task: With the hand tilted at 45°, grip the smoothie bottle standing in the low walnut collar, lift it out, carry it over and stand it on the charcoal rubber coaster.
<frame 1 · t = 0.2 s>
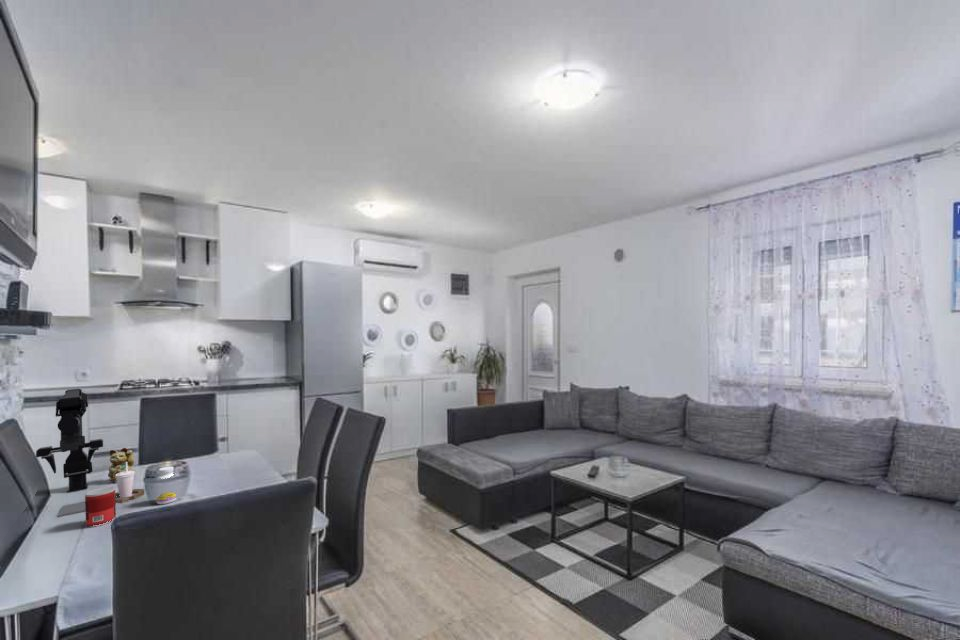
hand: (71, 470, 169), 14 cm above the table, tool pointing down, fingers open, 9 cm apart
smoothie: (125, 497, 177), resting in collar
coaster: (82, 507, 168), on the table
decorative figurine: (122, 480, 199), on the table
collar: (125, 496, 177), on the table
canned food: (101, 522, 153), on the table
supplement bottle: (167, 501, 170), on the table
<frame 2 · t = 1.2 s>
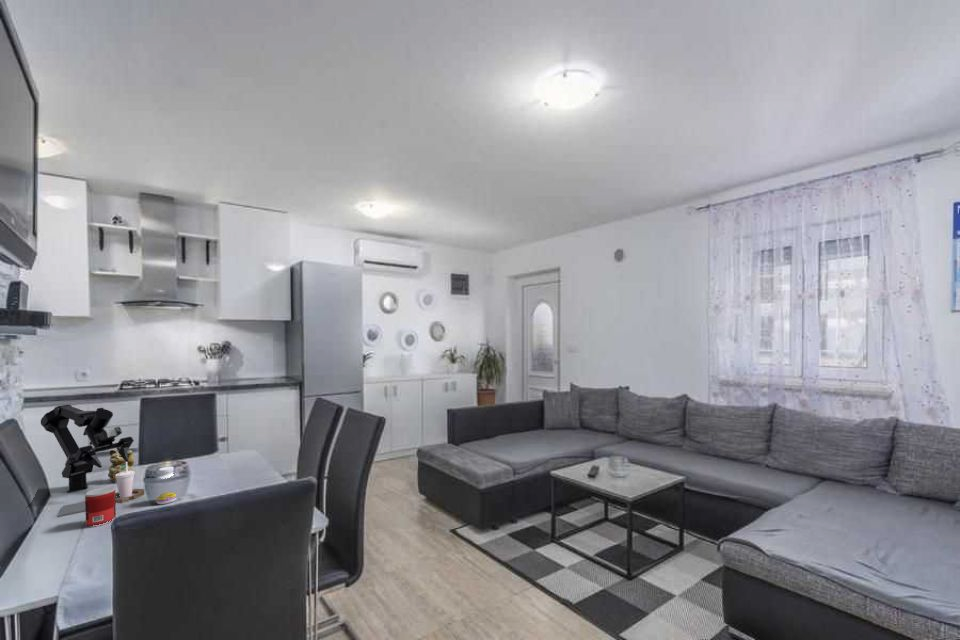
hand: (114, 463, 180), 13 cm above the table, tool tilted 45°, fingers open, 9 cm apart
nothing on the table moved.
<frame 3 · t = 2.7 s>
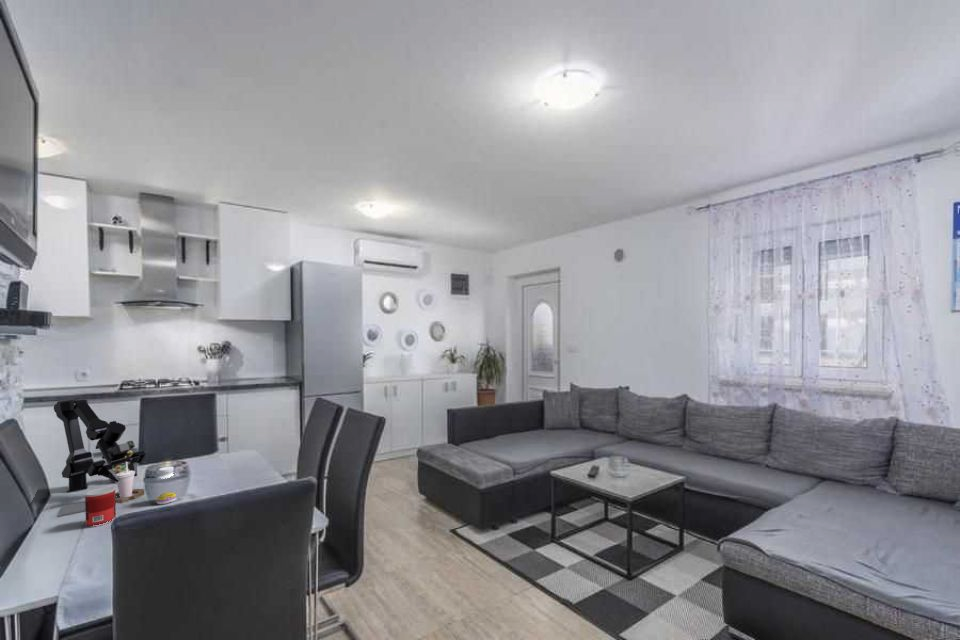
hand: (127, 478, 177), 8 cm above the table, tool tilted 45°, fingers closed on smoothie, 6 cm apart
smoothie: (125, 497, 177), resting in collar, touching gripper
everything else where it was.
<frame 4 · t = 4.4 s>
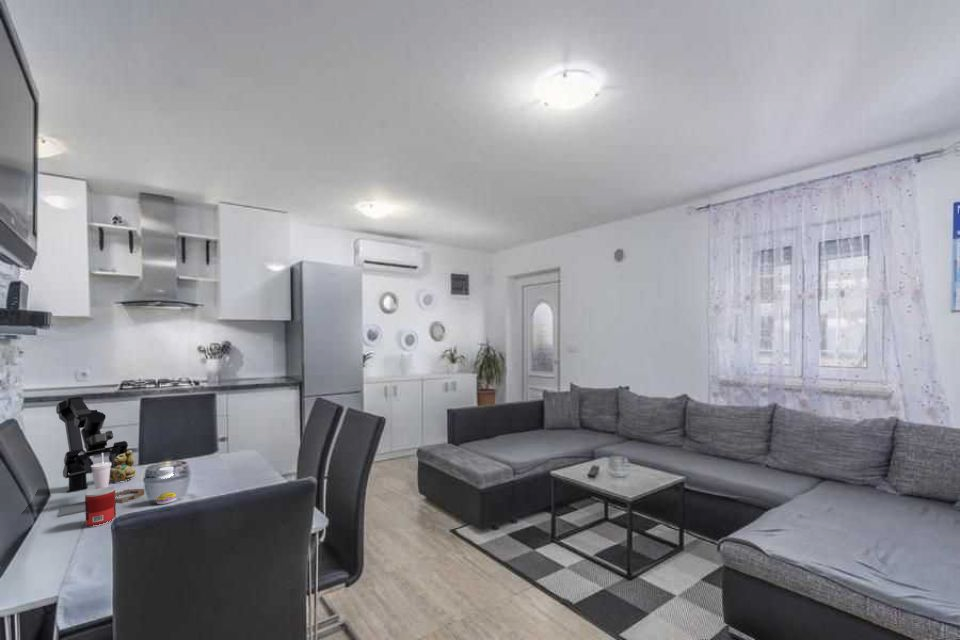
hand: (102, 470, 171), 13 cm above the table, tool tilted 45°, fingers closed on smoothie, 6 cm apart
smoothie: (102, 489, 172), point 5 cm above the table, touching gripper
everything else where it was.
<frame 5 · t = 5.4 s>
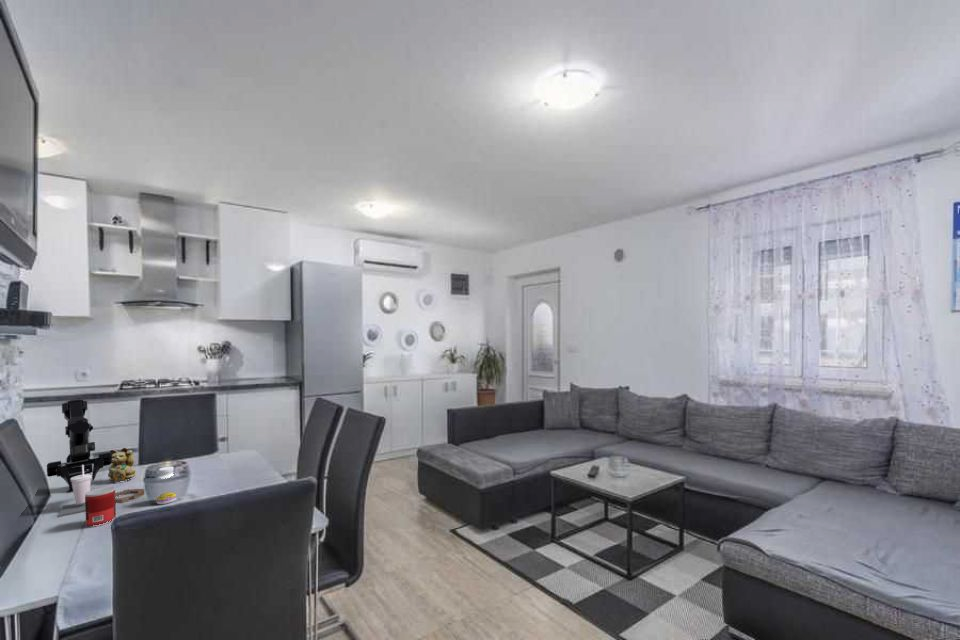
hand: (81, 482, 167), 10 cm above the table, tool tilted 45°, fingers closed on smoothie, 6 cm apart
smoothie: (82, 502, 168), point 2 cm above the table, touching gripper
everything else where it was.
when the fingers open (9 cm above the table, at t = 6.1 s): smoothie stays where it is, resting on coaster.
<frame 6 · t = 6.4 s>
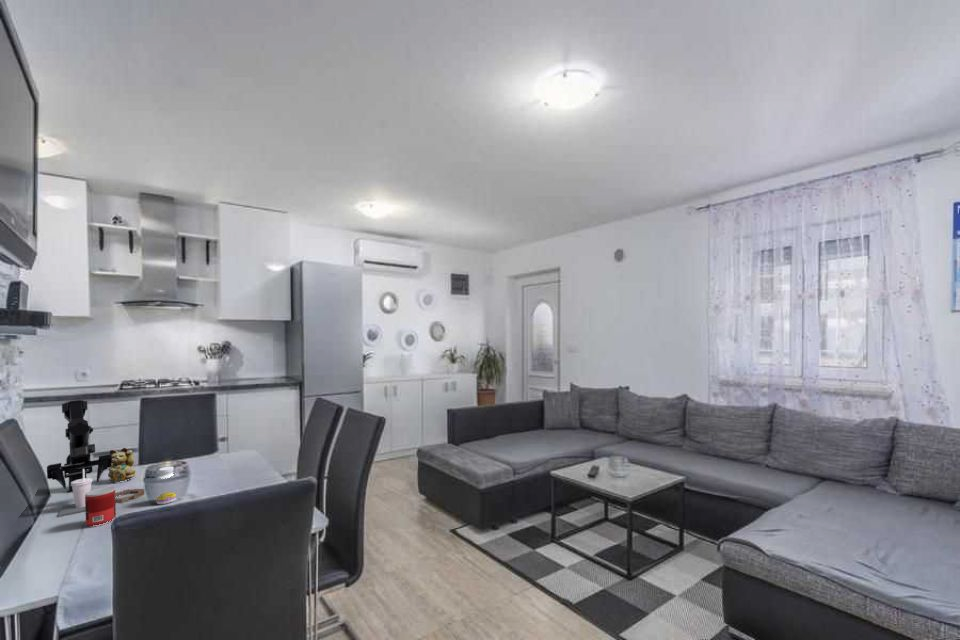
hand: (81, 484, 167), 9 cm above the table, tool tilted 45°, fingers open, 9 cm apart
smoothie: (82, 506, 168), resting on coaster
everything else where it was.
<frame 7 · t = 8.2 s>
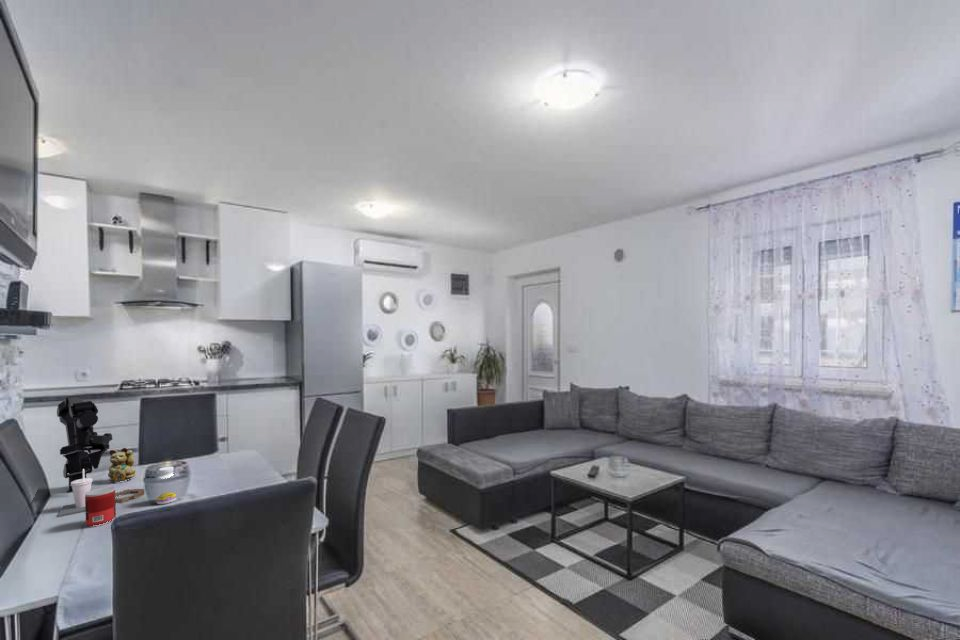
hand: (87, 469, 177), 12 cm above the table, tool tilted 20°, fingers open, 9 cm apart
nothing on the table moved.
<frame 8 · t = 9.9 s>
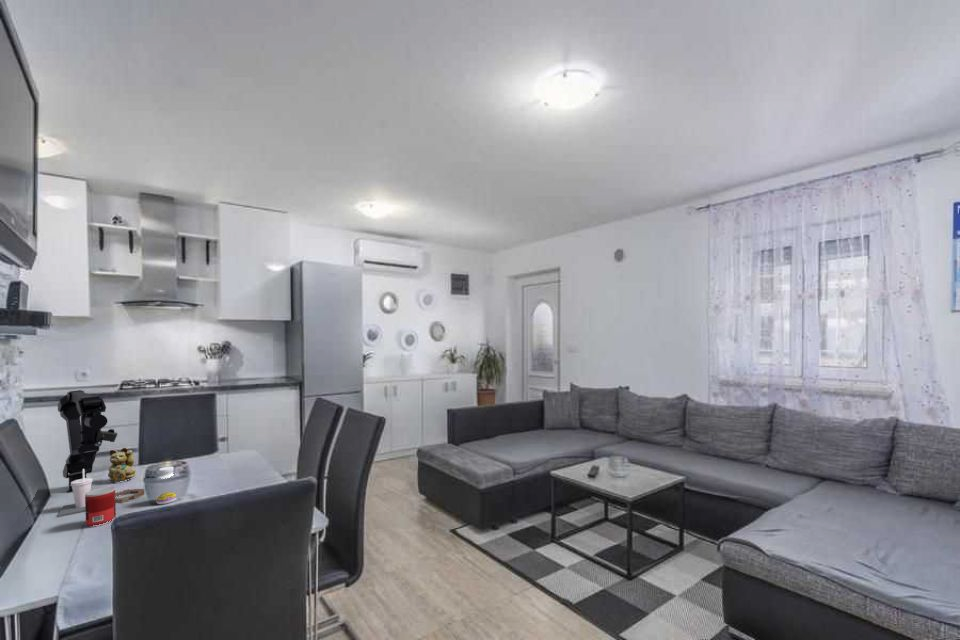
hand: (91, 465, 179), 13 cm above the table, tool pointing down, fingers open, 9 cm apart
nothing on the table moved.
at the end: smoothie inside the target area on the coaster (0.2 cm from its centre), point 0.4 cm above the coaster's base; smoothie tilted 0°; the gripper is holding nothing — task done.
